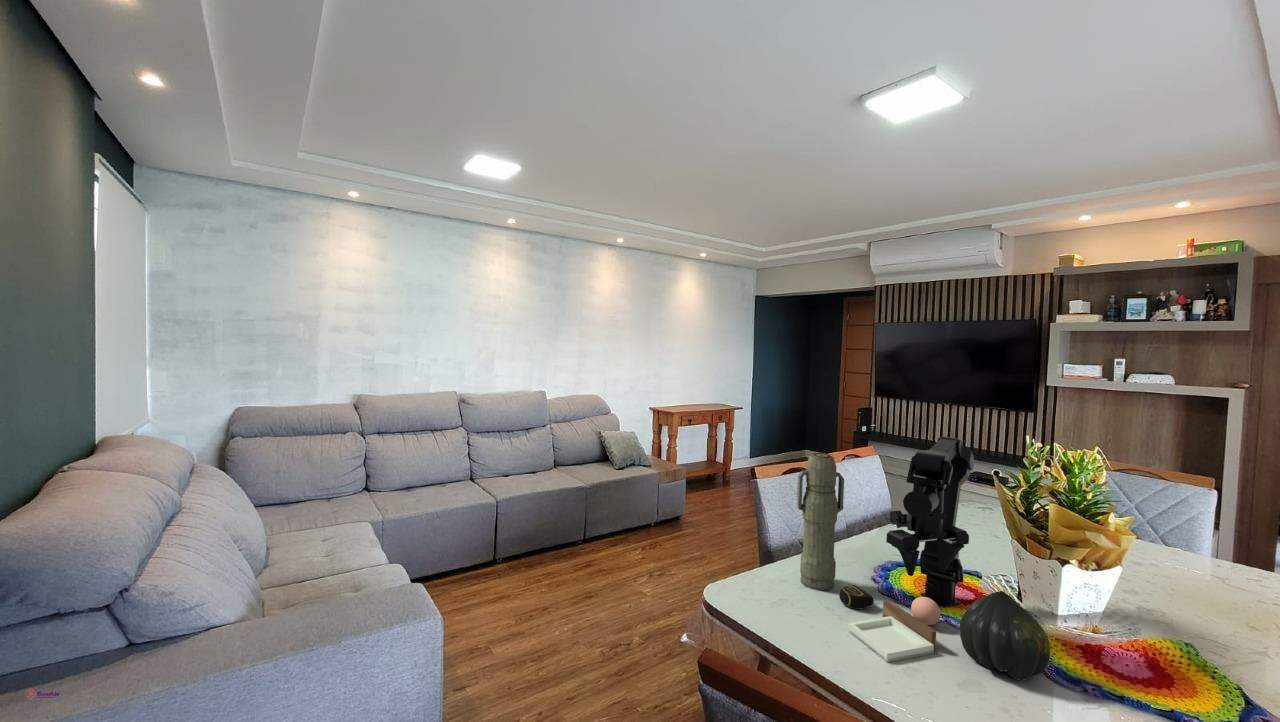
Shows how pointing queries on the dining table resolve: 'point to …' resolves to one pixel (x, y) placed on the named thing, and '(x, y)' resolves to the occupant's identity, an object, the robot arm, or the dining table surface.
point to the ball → (925, 610)
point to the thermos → (819, 520)
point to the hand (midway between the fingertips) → (926, 573)
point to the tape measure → (855, 597)
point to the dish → (890, 638)
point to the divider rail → (909, 621)
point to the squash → (1004, 636)
